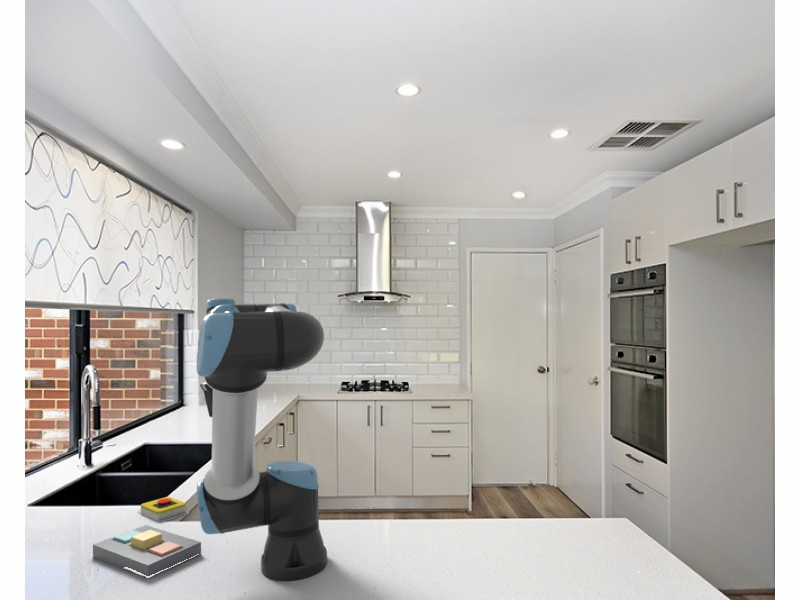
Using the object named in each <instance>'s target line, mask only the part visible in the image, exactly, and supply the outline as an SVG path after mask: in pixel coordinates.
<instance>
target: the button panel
mask: <svg viewBox="0 0 800 600" xmlns="http://www.w3.org/2000/svg"><path fill="white" fill-rule="evenodd" d="M133 530H135V531H138V532H141V533H143V532H145V531H148V530H153V531H156V532H159V533H162V543H160V544H157V545H155V546H152V547H150V548H148V549H145V550H143V551H142V550H139V549H137V548H134V547H131V542H129V543H126V544H123V543H120V542H117V541H114V537H115V536H112V537H110V538H107V539H105V540H101V541H99V542H96V543H94V544H92V557H93V558H95V559H97V560H100V561H102V562H105V563H107V564H110V565H113V566H114V567H118V568H120V569H122V568H124V567H128V568H131V569H133V570H136V571H137V572H140V573H142V574H144V575H146V576H150V575H152V574H155V573H157V572H159V571H161V570H164V569H166V568H169V567H171V566H173V565H175V564H177V563H179V562H182V561H184V560H186V559H189V558H191V557H193V556H195V555H197V554H200V553H201V554H202V542H201V541H200V540H199V541H198V540H195V539H192V538H190V537H186V536H182V535H179V534H177V533H173V532H171V531H170V532H169V531H166V530H163V529H159V528H156V527H153V526H150V525H147V524H145V525H141V526H139V527H137V528H134V529H133ZM129 531H130V530H129ZM129 531H127V532H129ZM121 534H122V533H121ZM121 534H119V535H121ZM116 536H118V535H116ZM168 541H169V542H172V543H175V544H178V545H181V549H180V550H177V551H175V552H173V553H170V554H168V555H166V556H163V557H159V556H156V555H154V554H151V553H149V549H151V548H153V547H156V546H158V545H161V544H163V543H166V542H168Z"/></svg>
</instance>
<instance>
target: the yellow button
mask: <svg viewBox="0 0 800 600" xmlns="http://www.w3.org/2000/svg"><path fill="white" fill-rule="evenodd" d="M160 543H162V533H159V532H156V531H153V530H148V531H145V532H143V533H140V534H137V535H135V536H132V537H131V547H134V548H137V549H139V550H142V551H143V550H145V549H148V548H150V547H152V546H155V545H157V544H160Z"/></svg>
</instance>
